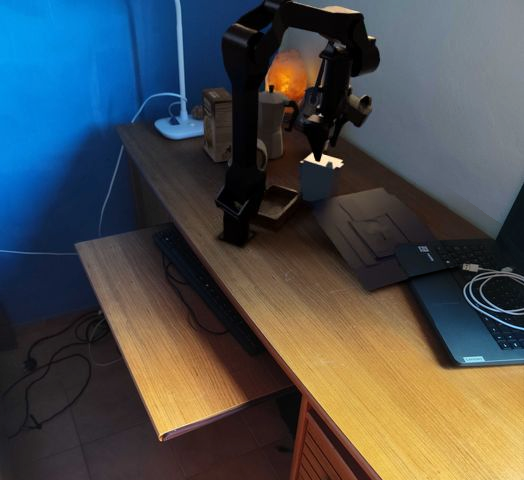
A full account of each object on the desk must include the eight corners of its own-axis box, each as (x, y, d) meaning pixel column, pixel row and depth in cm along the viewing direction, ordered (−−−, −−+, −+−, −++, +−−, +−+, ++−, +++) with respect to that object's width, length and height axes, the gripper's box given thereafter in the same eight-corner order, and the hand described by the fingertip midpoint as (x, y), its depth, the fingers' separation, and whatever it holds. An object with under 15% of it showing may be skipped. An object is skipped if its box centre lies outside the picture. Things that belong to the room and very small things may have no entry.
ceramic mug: (265, 161, 131) (266, 133, 126) (266, 175, 126) (268, 147, 120) (228, 161, 131) (227, 133, 125) (227, 175, 125) (226, 146, 120)
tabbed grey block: (330, 208, 116) (337, 170, 108) (292, 195, 119) (296, 157, 112) (339, 199, 119) (346, 161, 112) (302, 187, 123) (306, 149, 115)
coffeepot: (240, 152, 135) (240, 84, 121) (256, 141, 140) (258, 74, 127) (286, 166, 130) (293, 97, 117) (301, 154, 136) (309, 87, 122)
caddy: (275, 231, 108) (276, 219, 106) (241, 219, 110) (241, 208, 108) (302, 203, 117) (303, 192, 115) (269, 193, 119) (270, 182, 117)
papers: (385, 195, 119) (389, 183, 116) (456, 275, 103) (463, 262, 100) (300, 212, 111) (303, 199, 108) (363, 300, 96) (368, 288, 93)
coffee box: (203, 149, 135) (200, 88, 123) (224, 146, 137) (223, 86, 125) (214, 163, 129) (212, 101, 118) (236, 159, 131) (236, 98, 120)
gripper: (357, 102, 90) (343, 179, 102) (385, 77, 102) (370, 148, 113) (305, 90, 93) (297, 166, 105) (338, 67, 105) (328, 137, 116)
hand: (325, 154), depth 110 cm, fingers open, 9 cm apart
